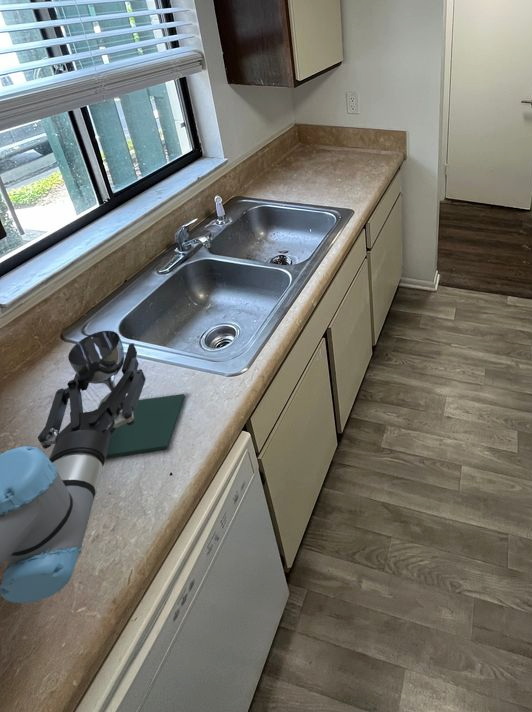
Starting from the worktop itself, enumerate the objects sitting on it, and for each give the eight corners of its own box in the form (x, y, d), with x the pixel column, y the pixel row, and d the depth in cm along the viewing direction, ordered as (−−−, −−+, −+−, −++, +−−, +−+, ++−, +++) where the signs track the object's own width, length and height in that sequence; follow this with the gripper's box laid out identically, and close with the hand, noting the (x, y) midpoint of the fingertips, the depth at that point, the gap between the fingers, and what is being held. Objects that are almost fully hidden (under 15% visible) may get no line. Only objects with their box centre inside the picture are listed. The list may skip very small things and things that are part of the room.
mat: (83, 461, 87) (81, 458, 87) (110, 406, 98) (108, 403, 98) (167, 448, 90) (166, 445, 89) (185, 396, 100) (184, 393, 100)
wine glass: (90, 426, 82) (62, 371, 75) (100, 391, 88) (74, 337, 82) (138, 412, 84) (115, 357, 78) (144, 379, 91) (123, 325, 84)
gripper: (9, 503, 66) (62, 379, 86) (151, 461, 72) (171, 353, 92) (-12, 475, 63) (48, 352, 83) (138, 432, 69) (161, 327, 88)
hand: (112, 353), depth 87 cm, fingers closed on wine glass, 6 cm apart
